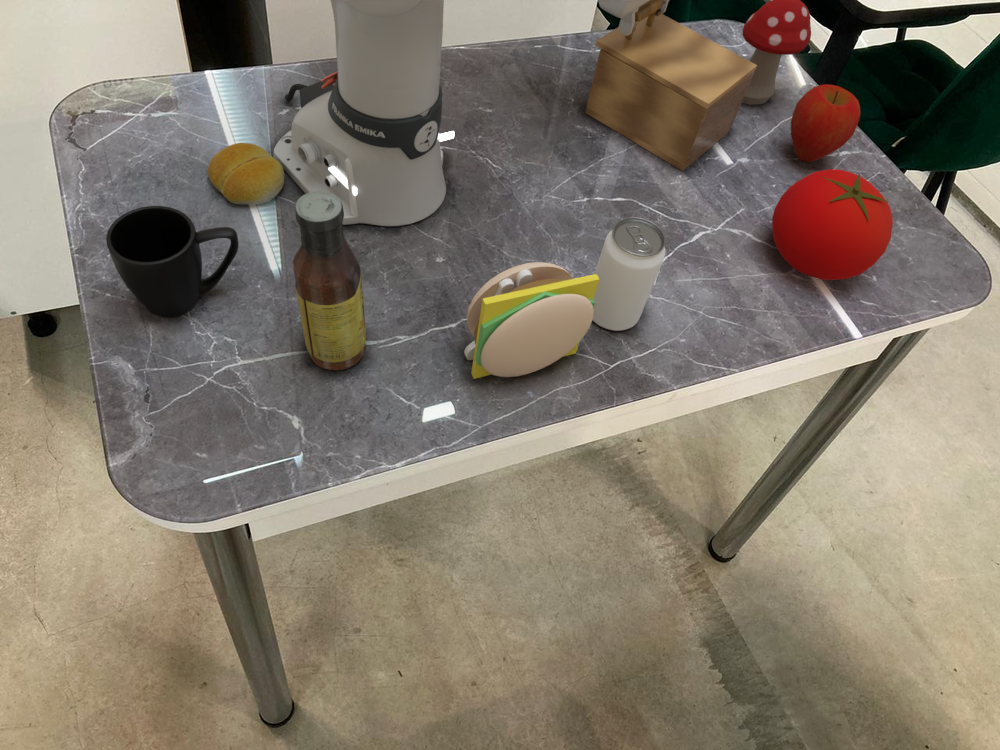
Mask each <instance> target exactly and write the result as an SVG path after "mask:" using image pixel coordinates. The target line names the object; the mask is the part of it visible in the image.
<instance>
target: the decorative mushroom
mask: <svg viewBox="0 0 1000 750" xmlns="http://www.w3.org/2000/svg"><path fill="white" fill-rule="evenodd" d="M811 25H812V24H811V13H810V11H809V9H808V7H807V6H806V4H805V3H804V2H803V1H801V0H769V1H768V2H765V4H763V5H762V6H761V7H760V8H759V9H758V10H757V11H755V12H754V13H752V14H751V15H750V16H749V18H748V19H747V20H746V22H745V23H744V25H743V28H742V37H743V39H744V41H745V42H746V43H747V44H748V45H750V47H753V48H755V50H754V52H753V53H752V55H751V57H750V59H749V60H748V61H750V62H752V63H754V64H756V65H757V67H756V70H755V72H754V74H753V77H752V79H751V81H750V84H749V86H748V89H747V91H746V93H745V96H744V98H743V100H742V103H741V104H746V105H762V104H764V103H766V102H767V101H769V100H770V99H771V97H772V96H773V94H775V92H776V78H777V73H778V69H779V66H780V62H781V58H782V56H784V55H786V56H788V55H794V54H799V53H801V52H802V51H804V50H805V49H806V48H807V46H808V45H809V43H810V42H811V37H812V27H811Z"/></svg>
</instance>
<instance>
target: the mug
mask: <svg viewBox="0 0 1000 750" xmlns="http://www.w3.org/2000/svg"><path fill="white" fill-rule="evenodd" d="M238 237H239V236H238V233H237V230H236V229H234V228H232V227H230V226H220V227H212V228H207V229H202V230H199V231H196V227H195V224H194V222H193V221H192V219H191V218H190V217H189V216H188V215H187V214H186V213H185V212H182V211H181V210H180V209H176V208H173V207H171V206H165V205H148V206H147V205H146V206H141V207H138V208H134V209H131V210H129V211H127V212H125V213H123V214H122V215H120V216H119V217H117V218H116V219H115V220H114V221H113V222H112V223H111V225H110V226H109V228H108V230H107V233H106V238H105V239H106V240H105V241H106V247H107V250H108V252H109V255H110V258H111V260H112V263H113V265H114V267H115V270H116V271H117V273H118V275H119V277H120V278H121V280H122V282H123V283H124V284H125V286H126V288H127V289H128V290H129V291H130V292H131V294H132V295H133V296H134V297H135V298H136V299H137V300H138V301H139V302H140V303H141V304H142V305H143V307H145V309H146V310H147V311H148V312H149V313H151V314H152V315H154V316H157V317H159V318H167V319H168V318H169V319H171V318H177V317H181V316H183V315H185V314H187V313H189V312H191V311H192V310H193V309H194V308H195V306H196V305H197V303H198V301H199V297H200V294H205V293H208V292H210V291H211V290H213V289H214V288H215V287H216V286H217V285H218V284H219V282H220V281H221V279H222V278H223V276H225V273H226V272H227V270H228V269H229V267H230V266H231V265H232V263H233V260H234V259H235V257H236V256H237V254H238V251H239V238H238ZM218 239H228V240H230V245H229V248H228V251H227V253H226V255H225V256H224V259H223V260H222V262H221V263H220V265H219V266H218V267H217V268H216V270H215V271H214V272H213V273H212V274H211V275H209V276H207V277H205V278H202V274H203V273H202V272H203V260H202V251H201V247H200V244H202V243H206V242H209V241H212V240H218Z"/></svg>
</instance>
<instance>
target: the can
mask: <svg viewBox="0 0 1000 750" xmlns="http://www.w3.org/2000/svg"><path fill="white" fill-rule="evenodd" d="M666 241H667V239H666V235H665V233H664V231H663V230H662V229H661V227H660V226H658V224H656V223H654V222H653V221H651V220H649V219H647V218H643V217H637V216H629V217H625V218H622V219H619V220H618V221H616V223H615V224H614V225H613V228H612V229H611V230H610V231H609V232H608V233H607V235H606V236H605V240H604V243H603V245H602V249H601V251H600V254H599V258H598V261H597V264H596V267H595V271H594V274H597V276H598V277H599V279H600V280H599V283H598V286H597V289H596V292H595V295H594V298H593V300H594V302H595V305H594V308H593V311H594V313H593V320H592V322H593V323H595V324H596V325H597V326H599V327H601V328H603V329H605V330H608V331H614V332H620V331H625V330H628V329H631V328H633V327H635V326H636V325H637V323H638V322H639V321H640V318H642V317H641V316H642V314H643V312H644V309H645V307H646V305H647V302H648V300H649V297H650V295H651V292H652V290H653V287H654V285H655V283H656V280H657V277H658V275H659V273H660V271H661V267H662V264H663V262H664V260H665V255H666V244H667V243H666Z"/></svg>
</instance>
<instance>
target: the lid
mask: <svg viewBox="0 0 1000 750" xmlns="http://www.w3.org/2000/svg"><path fill="white" fill-rule="evenodd" d="M662 6H663V0H650V1H648V2H646V3H645V4H643V5H641V6H640V7H639V9H638V11H637V12H635V19H636V20H638V23H637V26H636V30H635V31H634V32H633V33H631V34H630V35H628V36H626V35H624V34H622V33H621V32H620V31H619V26H618V27H616V28H615V29H613V30H610V31H609V32H608V33H606V34H604V35H603V36H602V37H600V38H598V39H597V40H596V42H595V47H597V48H599V49H600V50H601V49H602V50H604V51H606V52H608V53H609V54H611V55H613V56H615V57H616V58H618V59H620V60H622V61H623V62H625V63H627V64H629V65H630V66H632V67H634V68H636V69H637V70H639V71H641V72H643V73H644V74H646V75H648V76H650V77H651V78H653V79H655V80H657V81H658V82H660V83H662V84H664V85H665V86H667V87H669V88H671V89H672V90H674V91H676V92H678V93H679V94H681V95H683V96H685V97H686V98H688V99H690V100H692V101H693V102H695V103H697V104H699V105H700V106H702V107H704V108H706V109H707V108H709V107H710V106H711V105H712V104H714V103H715V102H716V101H717V100H719V99H720V98H721V97H722V96H724V95H725V94H726V93H727V92H729V91H730V90H731V89H732V88H734V87H735V86H736V85H737V84H739V83H740V82H741V81H742V80H744V79H745V78H746V77H747V76H749V75H750V74H751V73H752V72H754V71H755V70H756V67H757V65H756V64H754V63H752V62H750V61H749V60H748V59H747V58H745V57H743V56H741V55H739V54H737V53H735V52H733V51H731V50H730V49H728V48H726V47H724V46H722V45H720V44H719V43H717V42H715V41H713V40H711V39H709V38H707V36H703V35H702V34H701V33H699V32H696V31H694V30H693V29H691V28H689V27H687V26H685V25H683V24H681V23H680V22H678V21H676V20H674V19H672V18H671V17H669V16H666V15H665V14H664V13H663V14H661V15H659V16H655V14H656V11H657V10H659V9H660V8H661V7H662Z"/></svg>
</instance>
